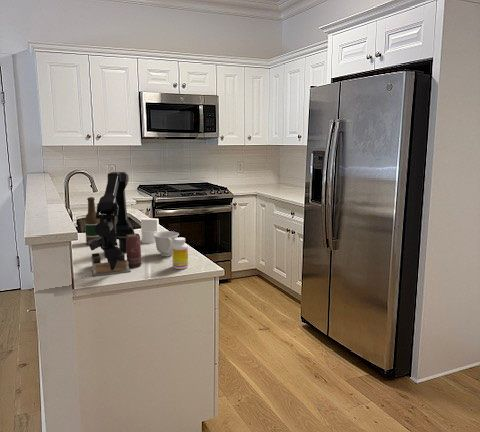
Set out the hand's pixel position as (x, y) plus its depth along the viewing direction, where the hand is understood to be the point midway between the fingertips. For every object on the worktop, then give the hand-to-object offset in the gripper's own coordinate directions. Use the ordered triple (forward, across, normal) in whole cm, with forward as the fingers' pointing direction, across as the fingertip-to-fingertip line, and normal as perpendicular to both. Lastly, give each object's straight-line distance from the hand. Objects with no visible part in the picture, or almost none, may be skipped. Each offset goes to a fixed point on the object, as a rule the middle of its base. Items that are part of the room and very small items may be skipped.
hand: (110, 266), depth 186 cm
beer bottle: (+3, -48, -2) cm, 48 cm away
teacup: (+2, -14, +28) cm, 31 cm away
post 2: (+2, -8, +5) cm, 10 cm away
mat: (+2, 0, 0) cm, 2 cm away
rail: (+2, 0, 0) cm, 2 cm away
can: (+2, -4, +10) cm, 12 cm away
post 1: (+2, -8, -5) cm, 10 cm away
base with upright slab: (+3, -42, +26) cm, 49 cm away
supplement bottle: (+2, +5, +28) cm, 29 cm away
